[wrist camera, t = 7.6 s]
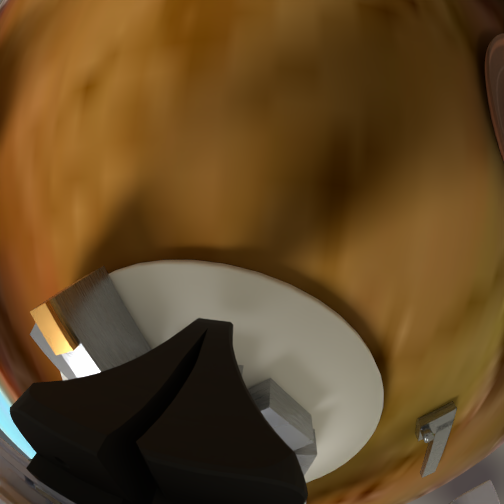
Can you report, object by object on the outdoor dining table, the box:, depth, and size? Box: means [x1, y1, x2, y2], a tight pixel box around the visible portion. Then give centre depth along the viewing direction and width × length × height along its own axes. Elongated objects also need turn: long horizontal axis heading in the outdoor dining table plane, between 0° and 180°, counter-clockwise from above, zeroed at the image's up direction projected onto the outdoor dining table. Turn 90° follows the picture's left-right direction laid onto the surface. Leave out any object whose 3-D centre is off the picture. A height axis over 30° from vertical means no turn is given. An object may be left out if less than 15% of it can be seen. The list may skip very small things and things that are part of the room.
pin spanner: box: [415, 401, 457, 477], centre depth 14 cm, size 13×3×2 cm, turn 20°
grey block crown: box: [30, 266, 317, 475], centre depth 11 cm, size 13×17×4 cm
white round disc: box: [30, 260, 384, 483], centre depth 13 cm, size 22×22×4 cm
